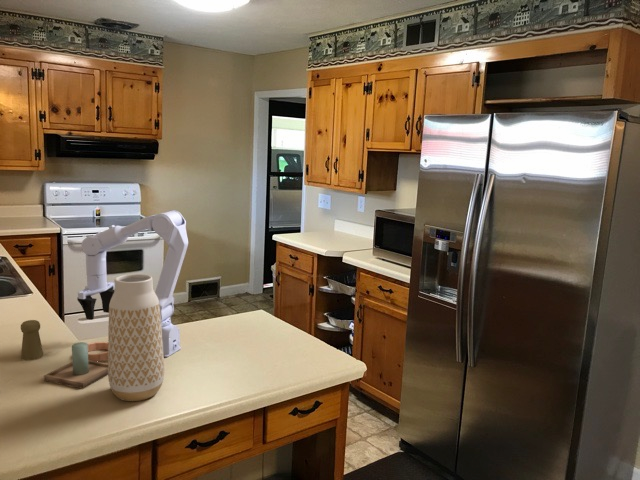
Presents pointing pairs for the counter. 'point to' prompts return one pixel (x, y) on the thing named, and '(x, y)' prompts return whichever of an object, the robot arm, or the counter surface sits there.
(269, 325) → the counter surface
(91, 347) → the faceted terracotta ring
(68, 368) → the walnut tray
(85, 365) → the gray-green peg
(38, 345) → the olive pepper mill
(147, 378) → the vase
